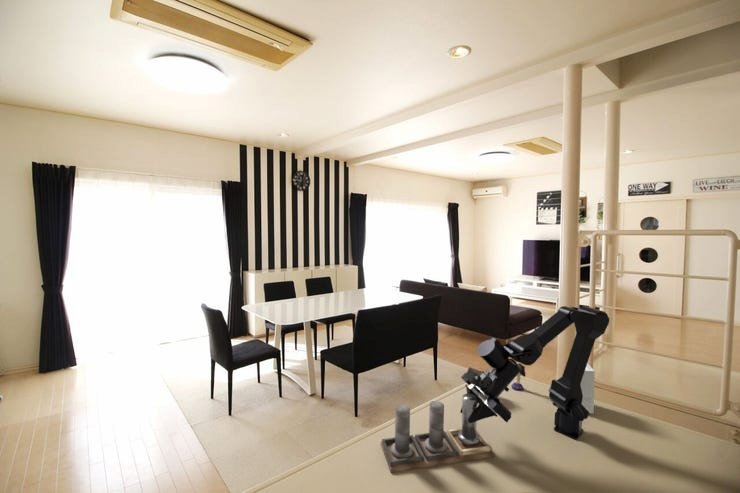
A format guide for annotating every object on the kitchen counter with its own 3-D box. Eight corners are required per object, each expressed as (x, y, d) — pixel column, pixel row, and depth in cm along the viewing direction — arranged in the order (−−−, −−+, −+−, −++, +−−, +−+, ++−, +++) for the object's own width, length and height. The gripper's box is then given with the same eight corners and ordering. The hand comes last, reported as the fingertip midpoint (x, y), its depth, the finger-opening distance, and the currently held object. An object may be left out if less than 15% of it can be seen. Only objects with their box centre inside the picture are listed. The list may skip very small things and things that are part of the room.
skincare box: (594, 414, 112) (596, 372, 111) (573, 411, 114) (576, 369, 112) (586, 401, 120) (588, 361, 119) (567, 398, 122) (569, 359, 120)
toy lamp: (524, 386, 130) (526, 345, 129) (525, 392, 126) (527, 349, 125) (511, 384, 132) (512, 343, 131) (511, 390, 128) (513, 348, 126)
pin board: (473, 431, 103) (475, 389, 102) (493, 456, 92) (495, 410, 91) (380, 444, 97) (380, 400, 96) (390, 472, 86) (391, 423, 85)
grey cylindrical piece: (481, 436, 97) (482, 395, 96) (477, 448, 92) (478, 405, 91) (460, 429, 100) (461, 390, 99) (455, 441, 95) (456, 399, 94)
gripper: (467, 347, 104) (433, 384, 103) (502, 374, 86) (462, 420, 85) (489, 369, 106) (456, 405, 105) (528, 400, 88) (489, 445, 87)
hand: (464, 417), depth 96 cm, fingers open, 4 cm apart
